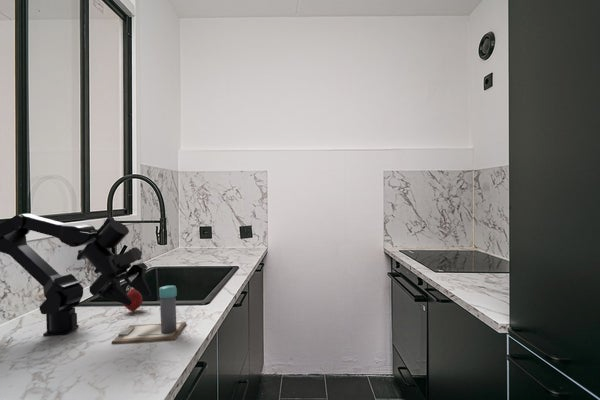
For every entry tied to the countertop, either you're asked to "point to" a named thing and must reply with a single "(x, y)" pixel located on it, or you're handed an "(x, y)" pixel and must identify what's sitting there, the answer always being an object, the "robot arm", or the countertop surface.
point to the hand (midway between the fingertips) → (140, 299)
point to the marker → (168, 308)
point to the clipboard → (146, 333)
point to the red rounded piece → (134, 300)
